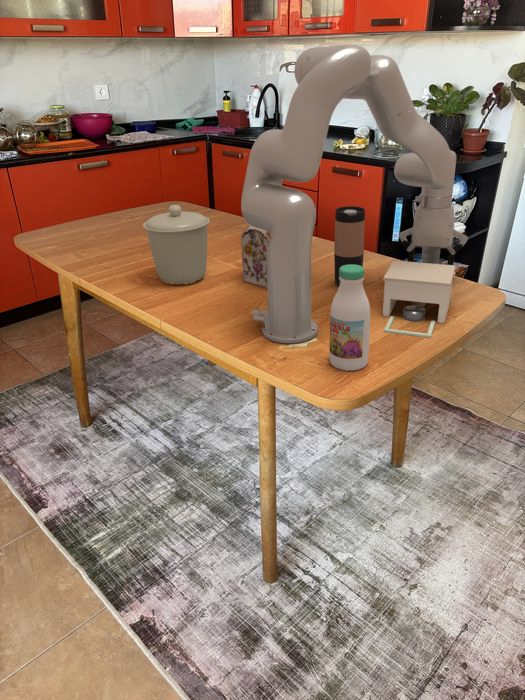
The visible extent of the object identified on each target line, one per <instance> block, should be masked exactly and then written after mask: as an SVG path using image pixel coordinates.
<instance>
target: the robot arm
mask: <svg viewBox="0 0 525 700" xmlns="http://www.w3.org/2000/svg"><path fill="white" fill-rule="evenodd" d="M293 74H294V78H295V80H296V83H297V87H296V89H294V92H293V94H292V97H291V99H290V101H289V106H288V109H287V113H286V117H285V120H284V121H285V122H284V126H283V128H282V129H277V128H276V129H274V128H273V129H269V130H266V131H264V132H261V134H260V135H259V136H258V137H257V138H256V139H255V142H254V143H253V145H252V147H251V149H250V152H249V157H248V162H247V168H246V172H245V178H244V183H243V188H242V193H241V200H240V201H241V202H240V204H241V205H240V208H241V214H242V217H243V219H244V220H245V222H246V223H247V224H248V225H249V224H250V225H252V226H254V227H256V228H259V229H262V230H265V231H268V232H271V233H272V238H271V241H270V243H269V246H268V249H267V253H266V267H267V288H266V289H267V308H268V309H266V310H264V309H263V310H262V309H258V308H253V310H252V312H251V313H252V317H253V319H252V321H253V322H258V323H259V322H261V323H263V325H262V326H261V331H262V333H261V334H263V337H264V338H266V339H267V340H269V341H272V342H274V343H275V342H276V343H281V344H296V343H303V342H306V341H309V340H312V339H313V338H315V337H316V336H317V334H318V333H319V325H318V324H317V322H316V321H314V320H313V319H312V243H313V242H312V241H313V234H314V230H315V226H316V225H315V224H316V220H317V219H316V218H317V210H316V205H315V203H314V201H313V199H312V198H311V197H310V196H309V195H308V194H307V193H305V192H303V191H301V190H299V189H296V188H291V187H287V186H283V181H284V180H285V181H288V182H296V183H307V182H309V181H312V180H313V179H314V178H315V177H316V175H317V174H318V172H319V169H320V166H321V161H322V157H323V154H324V149H325V145H326V142H327V141H326V139H327V137H328V132H329V127H330V124H331V119H332V116H333V114H334V112H335V109H336V107H338V105H339V103H340V102H341V101H342V100H345V99H346V100H347V99H348V100H363V101H365V103H366V105H367V107H368V109H369V110H370V112H371V114H372V117H373V119H374V120H375V123H376V125H377V127H378V130H379V132H380V133H381V134H382V136H384V137H385V138H386V139H388V140H390V141H391V142H393V143H395V144H397V145H398V146H401V147H403V148H405V149H407V150H409V151H411V152H408V153H405V154H403V155H402V156H400V157H399V158H398V159H397V161H396V162H395V165H394V167H393V168H394V169H393V173H394V176H395V178H396V180H397V181H398V182H399V183H401V184H403V185H406V186H410V187H411V186H412V187H418V188H419V187H420V188H421V194H420V195H417V196H416V195H415V199H414V202H418V203H419V205H418V206H416V210H415V214H414V219H413V226H412V227H411V228H408V229H406V230H404V231H401V232H399V234H398V236H399V237H398V238H399V239H400V241H401V244H402V246H403V247H404V248H405V249H406V251H407V252H408V253H407V262H415V255H416V249H415V248H416V247H420V248H422V247H423V246H425V247H439V248H440V249H446V250H447V251H448V255H447V263H446V265H454V262H455V255H456V253H458V252H459V251H460V250H461V249H463V247H464V246H465V244H466V243H467V242H468V240H469V238H468V236H467V235H465V234H463V233H462V232H460V231H458V230H456V229H455V208H454V206H452V201H453V193H454V183H455V175H456V173H455V172H456V166H457V165H456V164H457V153H456V152H455V151H453V150H451V149H450V147H449V144H448V141H446V138H445V137H444V136H443V135H442V134H441V133H440V131H438V130H437V128H435V127H434V126H433V125H432V124H431V123H430V122H428V120H426V119H425V118H424V117H422V115H420V114H419V113H418V111H417V110H416V108H415V104H414V102H413V100H412V98H411V96H410V93H409V91H408V87H407V86H406V83H405V80H404V78H403V76H402V73H401V71H400V67H399V66H398V64H397V63H396V61H395V60H394V59H393V58H392V57H390V56H387V55H383V54H381V55H380V54H373V55H370V52H369V51H368V49H366V48H365V47H362V46H360V45H355V44H339V45H328V46H317V47H310V48H307V49H305V50H304V51H302V52H301V53H300V55H299V56H298V57H297V59H296V61H295V65H294V73H293ZM410 235H411V242H410V241H409V240H408V239H407V236H410ZM454 237H455V238H456V239H458V240H460V241H459V243H457V244H456V245H454V243H453V241H454V240H453V239H454Z"/></svg>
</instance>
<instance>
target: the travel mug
mask: <svg viewBox="0 0 525 700" xmlns="http://www.w3.org/2000/svg"><path fill="white" fill-rule="evenodd" d="M334 213H335V214H334V215H335V220H334V221H335V222H334V252H333V253H334V254H333V255H334V256H333V258H334V261H333V263H334V285H335V286H336V287H338V288H339V286H340V279H339V277H340V276H339V269H340V267H341V266H344V265H350V264H354V265H360V266H362V267H363V268H364V255H365V254H364V252H365V221H366V209H365V208H364V207H361V206H349V205H348V206H340V207H338V208H336V209H335V212H334Z"/></svg>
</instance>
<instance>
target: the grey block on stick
mask: <svg viewBox="0 0 525 700" xmlns="http://www.w3.org/2000/svg"><path fill="white" fill-rule="evenodd" d="M421 248H422V249H421V258H420V259H421V260H420V263H430V264H440V255H441V248H439V247H425V246H423V247H421ZM412 305H415V306H421V307H423V308H425V305H426V303H425V302H415V301H411V306H412Z"/></svg>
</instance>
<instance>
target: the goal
mask: <svg viewBox="0 0 525 700" xmlns="http://www.w3.org/2000/svg"><path fill="white" fill-rule="evenodd" d="M394 319H395V316H392V315H391V316H389V318H388V321H387V323H386V324H385V327H384V329H383V332H384V333H391V334H397V335H398V334H400V335H406V336H413V337H423V338H429V339H431V338H432V334H433V330H434V327H435V325H436V320H431V321H430V325H429V327H428V331H427V333H425V332H419V331H418V332H416V331H409V330H401V329H395V328H394V329H393V328H391V326H392V324H393V321H394Z"/></svg>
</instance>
